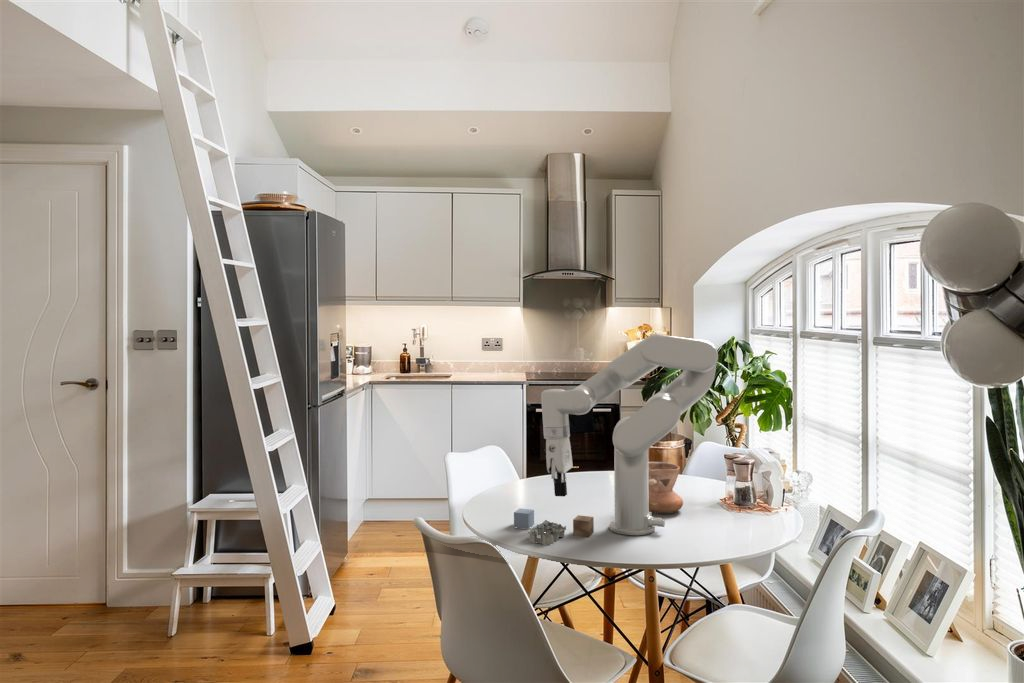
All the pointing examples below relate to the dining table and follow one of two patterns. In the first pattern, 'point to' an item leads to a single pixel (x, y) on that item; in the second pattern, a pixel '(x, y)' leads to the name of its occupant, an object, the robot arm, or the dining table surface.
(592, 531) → the walnut block
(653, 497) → the ceramic jug
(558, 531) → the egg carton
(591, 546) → the dining table surface
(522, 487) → the dining table surface
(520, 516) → the slate-blue block
